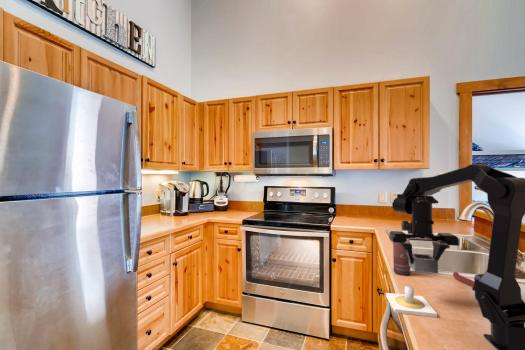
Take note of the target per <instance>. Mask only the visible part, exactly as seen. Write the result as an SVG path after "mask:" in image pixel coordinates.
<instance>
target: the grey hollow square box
mask: <svg viewBox="0 0 525 350" xmlns="http://www.w3.org/2000/svg"><path fill="white" fill-rule="evenodd" d="M412 255H413V262H412V264H411V263H410V261H409V266H410V269H412V270H413V271H414V272H416V273H428V274H429V273H430V274H439V260H437V259H435V258H434V257H433V255H431V254H427V253H414V252H412Z"/></svg>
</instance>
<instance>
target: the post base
mask: <svg viewBox="0 0 525 350" xmlns="http://www.w3.org/2000/svg"><path fill="white" fill-rule="evenodd" d="M414 291H415V289H414V287H413V286H409V285H408V286H407V285H405V286H404V294H403V293H390V292H385V297H386V299H387V301H388V302H389V305H390V306H391V308H392V310H393V312H394V313H395V314H403V315H414V316H423V317H432V318H438V313H437V311H436V310H435V309H434V308H433V307H432V305H430V304H429V302H428V301H427V300H426V299H425V297H424V296H423V295H415V292H414Z"/></svg>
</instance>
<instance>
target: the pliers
mask: <svg viewBox="0 0 525 350" xmlns="http://www.w3.org/2000/svg"><path fill="white" fill-rule="evenodd" d="M452 276H453V278H454V279H455V280H456V281H458V282H460V283H462V284H464V285H466V286H469V287H471V289H473V287H474V284H475V281H474V280H472V279H469V278H468V277H465V276H463V275H460V274H459V272H458V271H454V272H453V274H452Z"/></svg>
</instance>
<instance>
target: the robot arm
mask: <svg viewBox="0 0 525 350" xmlns="http://www.w3.org/2000/svg"><path fill="white" fill-rule="evenodd" d="M471 182H473V183H474V184H475V186H476V188H478V189H480V190H481V191H483V192H484V193H486V195H487V196H486V197H487V203H488V206H489V207H490V209H491V211H492V213H493V218H492V226H491V234H490V242H489V253H488V261H487V268H486V271H485V272H484V273H480V274H475V275H474V278H473V279H474V280H473V281H475V284H474V287H473V289H472V288H471V289H472V291H474V296H475V297H474V299H475V300H477V302H478V306H479V309H480V312H481V315H482V317H483V318H484V319H487V320H488V322H490V334H489V333H488V334H487V333H484V334H483V337H484V338H485V339H486V340H487V341H488V342H489V343H490V344H491V345H492V346H493V347H494V348H495V349H496V350H525V301H524V299H522V290H521V289H522V288H521V286H520V284H519V282H518V280H517V279H516V267H517V263H518V261H517V259H518V255H519V254H518V253H519V246H520V239H521V231H522V225H523V224H522V223H523V218H524V217H525V177H517V176H515V175H512V174H511V173H508V172H506V171H505V172H504V171H501V170H499V169H496V168H494V167H492V166H490V165H488V164H485V163H483V164H481V163H475V164H474V163H473V164H472V163H471V164H469V165H467V166H465V167H461V168H458V169H454V170H450V171H448V172H444V173H441V174H437V175H434V176H427V177H426V176H425V177H414V178H411V179H409V180H408V184H407V186H406V187H405V189H404V190H403V192H402V193H397V194H396V197H395V198H394V199H393V201H392V204H391V205H392V206H391V207H392V209H393V211H394V212H396V213H400V214H406V215H411V218H410V222H409V220H402V221H401V230H397V231H396V230H391V231H390V232H389V234H388V237H389V240H390V241H392V243H393V242H395V243H400V244H401V245H403V247H404V249H405V251H406V253H407V256H408V259H409V261H410V263H411V264H412V262H413V255H412V253H413V245H412V243H411V242H410V241H419V242H420V241H421V242H423V241H424V242H431V243H432V246H433V248H432V249H433V250H432V257H434V258H435V259H437V260H438V261H439V260H440V258H441V257H442V255H443V253H445V251H446V250H447V249H450V248H451V246H454V247H455V246H456V247H457V246H458V247H459V246H460V239H459V237H458V236H456V235H455V234H453V233H450V232H437V234H436V235H435V233H434V231H433V229H434V228H433V225H434V224H435V223H434V222H435V221H434V220H433V205H434V204H439V201H438V200H437V199H436V198H435V197H434V196H433V195H435V194H437V193H439V192H441V190H444V189H446V188H451V187H454V186H458V185H464V184H467V183H471ZM403 231H407V233H406V232H403Z"/></svg>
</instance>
